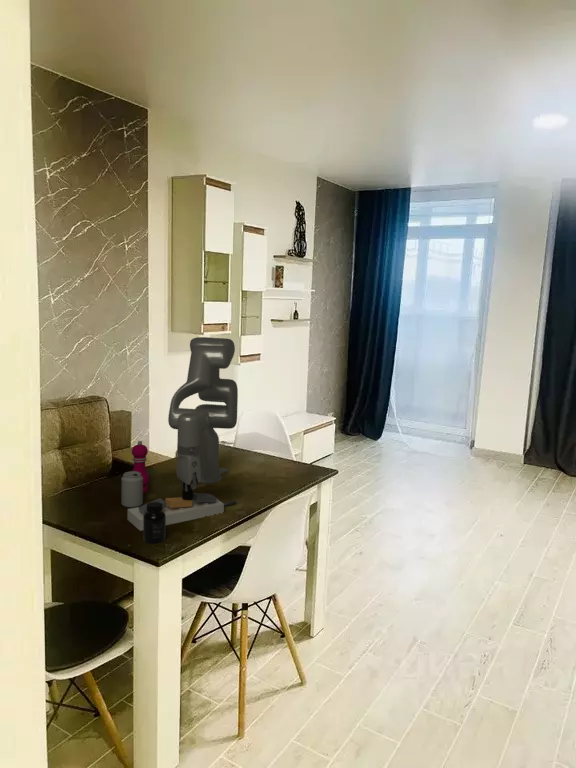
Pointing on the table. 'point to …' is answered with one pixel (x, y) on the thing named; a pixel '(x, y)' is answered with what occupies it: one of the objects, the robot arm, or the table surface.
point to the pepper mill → (141, 462)
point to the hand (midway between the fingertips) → (187, 501)
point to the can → (132, 489)
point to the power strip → (181, 512)
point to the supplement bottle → (154, 524)
